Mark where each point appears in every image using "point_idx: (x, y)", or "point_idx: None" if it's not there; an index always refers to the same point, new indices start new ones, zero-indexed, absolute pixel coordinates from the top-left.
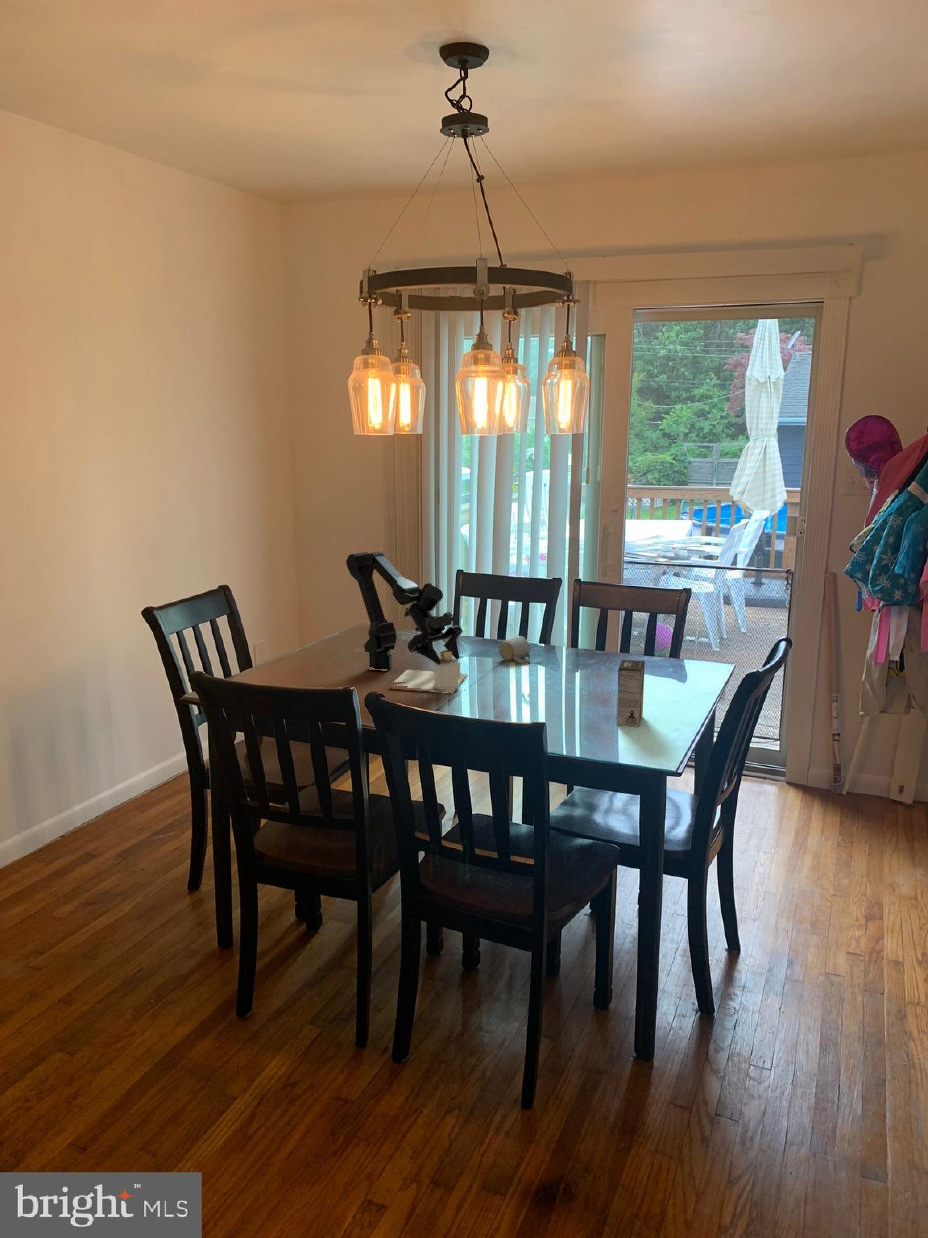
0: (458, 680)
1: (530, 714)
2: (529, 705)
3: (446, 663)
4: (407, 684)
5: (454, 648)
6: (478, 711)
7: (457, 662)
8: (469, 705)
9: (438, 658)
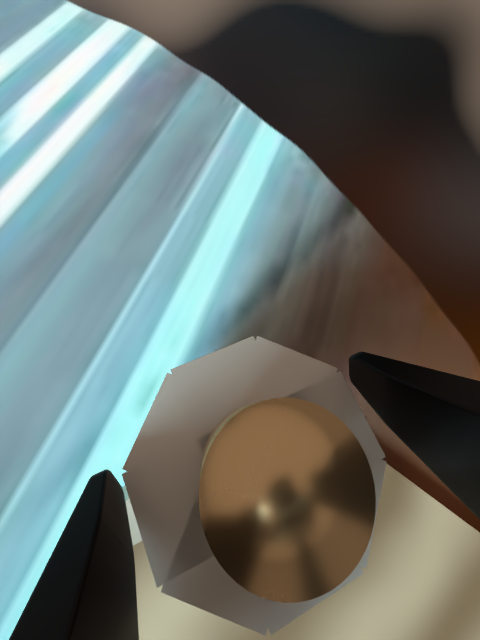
0: None
1: (70, 51)
2: (9, 110)
3: (280, 391)
4: (438, 571)
5: (79, 634)
6: (218, 138)
7: (168, 381)
8: (222, 198)
9: (398, 368)
